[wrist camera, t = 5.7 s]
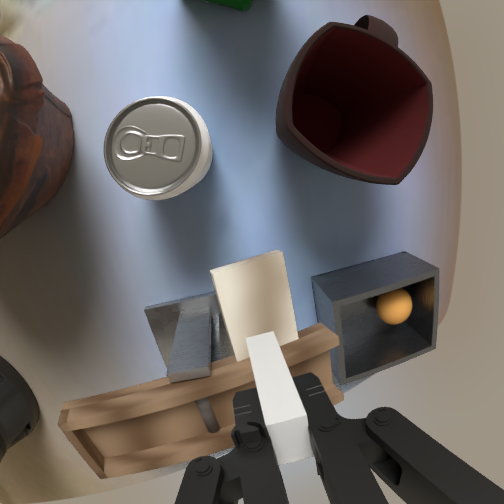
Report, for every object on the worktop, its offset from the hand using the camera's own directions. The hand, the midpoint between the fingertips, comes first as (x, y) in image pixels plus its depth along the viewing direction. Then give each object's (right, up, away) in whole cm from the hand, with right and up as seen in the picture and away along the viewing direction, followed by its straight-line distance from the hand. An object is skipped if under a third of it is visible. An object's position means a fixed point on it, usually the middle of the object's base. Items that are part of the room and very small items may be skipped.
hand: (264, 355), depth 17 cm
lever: (-5, -3, +6) cm, 9 cm away
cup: (+6, +19, +11) cm, 23 cm away
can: (-7, +14, +11) cm, 20 cm away
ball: (+13, -1, +13) cm, 18 cm away
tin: (+12, 0, +17) cm, 20 cm away
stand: (-5, -4, +16) cm, 17 cm away
